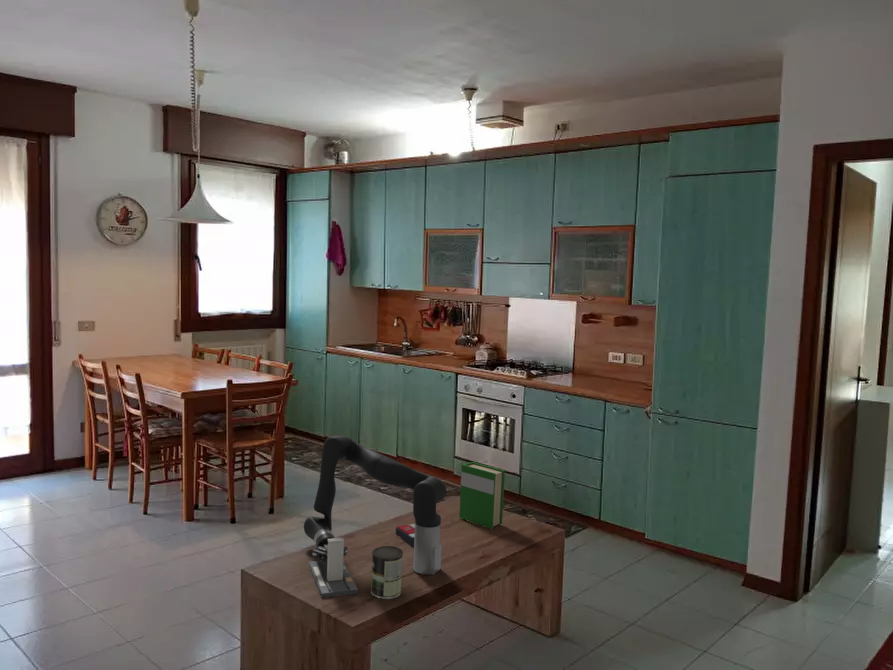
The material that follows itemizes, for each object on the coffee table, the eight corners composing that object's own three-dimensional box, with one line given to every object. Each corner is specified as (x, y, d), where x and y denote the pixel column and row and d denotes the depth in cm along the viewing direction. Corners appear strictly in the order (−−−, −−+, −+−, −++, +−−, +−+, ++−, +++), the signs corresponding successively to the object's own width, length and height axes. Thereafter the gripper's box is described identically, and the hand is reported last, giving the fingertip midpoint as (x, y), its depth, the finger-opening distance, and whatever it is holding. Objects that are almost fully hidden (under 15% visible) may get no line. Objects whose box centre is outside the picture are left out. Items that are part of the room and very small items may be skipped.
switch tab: (326, 578, 248) (327, 538, 247) (341, 577, 250) (342, 537, 249) (327, 581, 246) (329, 541, 245) (343, 579, 248) (344, 540, 247)
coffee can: (367, 597, 239) (369, 556, 238) (374, 584, 249) (375, 544, 248) (398, 600, 238) (400, 559, 237) (403, 587, 248) (405, 547, 247)
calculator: (419, 522, 302) (436, 532, 289) (419, 532, 302) (436, 543, 289) (395, 525, 297) (412, 536, 284) (395, 536, 297) (412, 547, 284)
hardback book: (502, 525, 312) (504, 470, 309) (491, 529, 306) (494, 473, 304) (469, 514, 323) (472, 461, 321) (459, 518, 318) (461, 464, 315)
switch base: (309, 565, 262) (309, 560, 262) (342, 562, 266) (342, 557, 266) (321, 597, 238) (321, 591, 238) (357, 593, 242) (358, 587, 242)
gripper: (307, 534, 262) (315, 553, 246) (343, 531, 267) (354, 549, 250) (307, 554, 263) (315, 574, 247) (343, 551, 267) (353, 570, 251)
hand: (334, 561), depth 249 cm, fingers closed
